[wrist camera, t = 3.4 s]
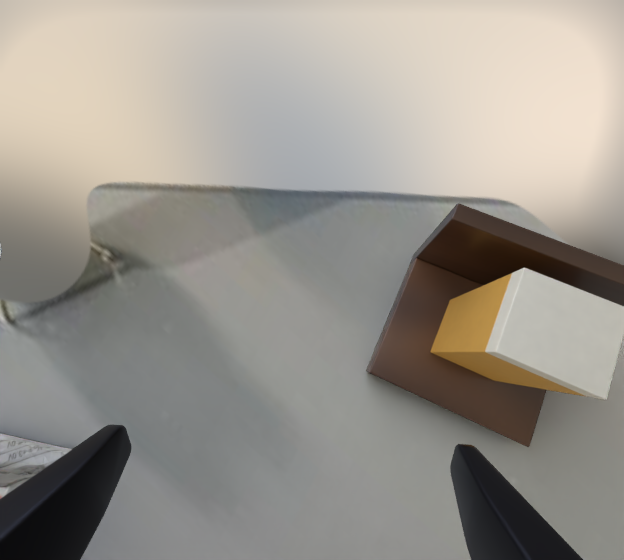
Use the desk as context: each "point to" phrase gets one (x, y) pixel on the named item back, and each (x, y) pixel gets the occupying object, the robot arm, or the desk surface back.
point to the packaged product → (24, 460)
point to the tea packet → (534, 334)
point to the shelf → (464, 278)
